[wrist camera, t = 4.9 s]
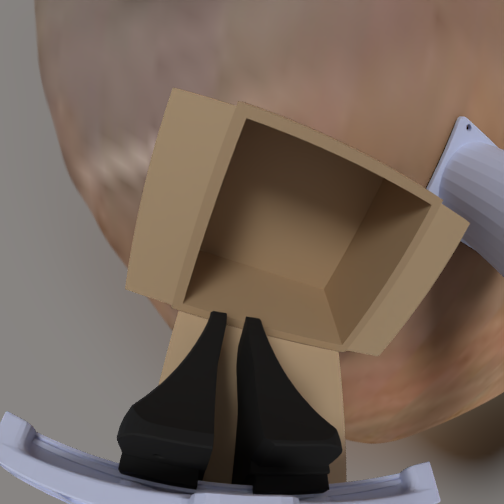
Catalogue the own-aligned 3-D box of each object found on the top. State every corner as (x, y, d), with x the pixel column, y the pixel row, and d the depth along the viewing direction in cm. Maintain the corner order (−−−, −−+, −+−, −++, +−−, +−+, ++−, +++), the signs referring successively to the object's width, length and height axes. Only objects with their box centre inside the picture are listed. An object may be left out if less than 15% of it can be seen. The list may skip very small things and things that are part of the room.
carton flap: (346, 522, 8) (339, 523, 9) (338, 351, 16) (333, 355, 16) (131, 510, 7) (132, 509, 7) (178, 310, 14) (177, 316, 15)
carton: (419, 184, 17) (471, 219, 12) (352, 300, 22) (376, 358, 17) (200, 88, 15) (174, 82, 9) (155, 238, 19) (124, 292, 14)
